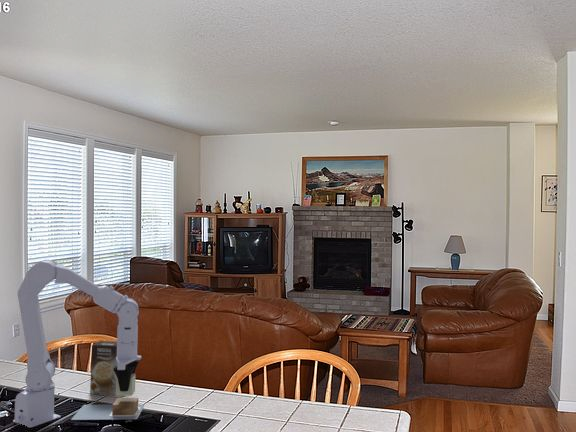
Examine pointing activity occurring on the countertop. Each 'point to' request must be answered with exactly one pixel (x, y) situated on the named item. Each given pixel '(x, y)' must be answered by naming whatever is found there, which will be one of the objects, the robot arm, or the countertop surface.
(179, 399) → the countertop surface
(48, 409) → the robot arm
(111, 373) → the coffee box
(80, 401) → the countertop surface
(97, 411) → the light blue flat board
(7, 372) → the countertop surface
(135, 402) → the walnut block
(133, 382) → the sage block
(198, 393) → the countertop surface
